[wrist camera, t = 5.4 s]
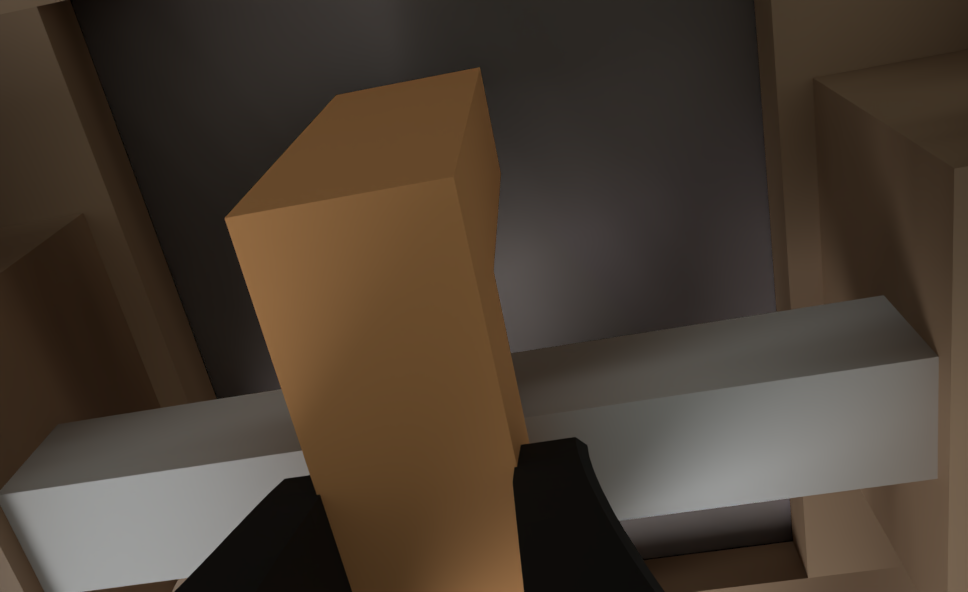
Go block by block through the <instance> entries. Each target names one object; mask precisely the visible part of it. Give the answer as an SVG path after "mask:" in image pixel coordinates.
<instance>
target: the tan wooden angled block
mask: <svg viewBox="0 0 968 592" xmlns="http://www.w3.org/2000/svg"><path fill="white" fill-rule="evenodd" d="M500 180H501V172H500V167H499V161H498V156H497V151H496V146H495V141H494V136H493V131H492V126H491V121H490V116H489V111H488V105H487V100H486V95H485V90H484V85H483V80H482V75H481V70H480V67H478V68H473V69H468V70H462V71H457V72H452V73H447V74H442V75H437V76H432V77H426V78H421V79H416V80H411V81H406V82H401V83H396V84H390V85H385V86H380V87H375V88H370V89H365V90H360V91H354V92H349V93H344V94H339V95H336V96H335V97H334V98H333V99H332V100H331V101H330V102H329V103H328V104H327V106H326V107H325V108H324V109H323V110H322V111H321V112H320V113H319V114H318V115H317V117H316V118H315V119H314V120H313V121H312V122H311V123H310V124H309V125H308V127H307V128H306V129H305V130H304V131H303V132H302V133H301V134H300V135H299V136H298V138H297V139H296V140H295V141H294V142H293V143H292V144H291V145H290V146H289V147H288V149H287V150H286V151H285V152H284V153H283V154H282V155H281V156H280V157H279V158H278V160H277V161H276V162H275V163H274V164H273V165H272V166H271V167H270V168H269V169H268V171H267V172H266V173H265V174H264V175H263V176H262V177H261V178H260V179H259V181H258V182H257V183H256V184H255V185H254V186H253V187H252V188H251V189H250V190H249V192H248V193H247V194H246V195H245V196H244V197H243V198H242V199H241V200H240V201H239V203H238V204H237V205H236V206H235V207H234V208H233V209H232V210H231V211H230V212H229V214H228V215H227V216H226V217H225V221H226V224H227V227H228V230H229V233H230V236H231V239H232V242H233V245H234V248H235V251H236V254H237V257H238V260H239V263H240V266H241V269H242V272H243V275H244V278H245V281H246V284H247V287H248V290H249V293H250V296H251V299H252V302H253V305H254V308H255V311H256V314H257V317H258V320H259V323H260V326H261V329H262V332H263V335H264V338H265V341H266V344H267V347H268V350H269V353H270V356H271V359H272V362H273V365H274V368H275V371H276V374H277V377H278V380H279V383H280V386H281V389H282V392H283V395H284V398H285V401H286V404H287V407H288V410H289V413H290V416H291V419H292V422H293V425H294V428H295V431H296V434H297V437H298V440H299V443H300V446H301V449H302V452H303V455H304V458H305V461H306V464H307V467H308V470H309V473H310V476H311V479H312V482H313V485H314V488H315V491H316V494H317V495H320V496H321V499H322V502H323V505H324V508H325V511H326V514H327V517H328V520H329V523H330V526H331V529H332V532H333V535H334V538H335V541H336V544H337V547H338V550H339V553H340V556H341V559H342V562H343V565H344V568H345V572H346V575H347V578H348V581H349V584H350V587H351V590H352V592H524V587H523V578H522V568H521V559H520V550H519V540H518V531H517V521H516V512H515V502H514V492H513V474H514V467H517V463H518V458H519V452H520V447H521V445H523V444H530V443H529V438H528V433H527V428H526V424H525V419H524V414H523V409H522V405H521V400H520V395H519V390H518V385H517V381H516V376H515V371H514V366H513V362H512V357H511V352H510V347H509V342H508V338H507V333H506V328H505V323H504V319H503V314H502V309H501V304H500V299H499V295H498V290H497V285H496V280H495V276H494V258H495V245H496V232H497V219H498V206H499V193H500Z"/></svg>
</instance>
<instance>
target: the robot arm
mask: <svg viewBox="0 0 968 592" xmlns="http://www.w3.org/2000/svg"><path fill="white" fill-rule="evenodd" d="M513 492H514V502H515V512H516V521H517V531H518V540H519V550H520V559H521V568H522V578H523V587H524V592H665V591H664V590H663V588H662V587H661V586H660V584H659V583H658V581H657V580H656V578H655V577H654V576H653V574H652V573H651V571H650V570H649V568H648V567H647V565H646V564H645V562H644V560H643V559H642V557H641V556H640V554H639V553H638V551H637V549H636V548H635V546H634V545H633V543H632V542H631V540H630V538H629V537H628V535H627V534H626V532H625V531H624V529H623V527H622V525H621V524H620V522H619V520H618V518H617V517H616V515H615V513H614V511H613V510H612V508H611V506H610V504H609V502H608V500H607V498H606V496H605V494H604V492H603V490H602V488H601V486H600V483H599V481H598V479H597V477H596V474H595V472H594V469H593V467H592V463H591V460H590V457H589V451H588V446H587V444H585V443H584V442H582V441H581V440H579V439H578V438H576V437H571V438H564V439H557V440H551V441H544V442H537V443H530V444H523V445H521V447H520V452H519V458H518V463H517V467H514V474H513ZM175 592H352V590H351V587H350V584H349V581H348V578H347V575H346V572H345V568H344V565H343V562H342V559H341V556H340V553H339V550H338V547H337V544H336V541H335V538H334V535H333V532H332V529H331V526H330V523H329V520H328V517H327V514H326V511H325V508H324V505H323V502H322V499H321V496H320V495H317V494H316V491H315V488H314V485H313V482H312V479H311V476H310V475H307V476H300V477H293V478H286V479H284V480H283V481H282V482H280V483H279V484H278V485H277V486H276V487H275V488H274V489H273V490H272V491H271V492H270V493H269V494H268V495H267V496H266V497H265V498H264V499H263V500H262V501H261V502H260V503H259V504H258V505H257V506H256V507H255V508H254V509H253V510H252V511H251V512H250V513H249V514H248V515H247V516H246V517H245V518H244V519H243V520H242V522H241V523H240V524H239V525H238V526H237V527H236V528H235V529H234V530H233V531H232V532H231V533H230V534H229V535H228V536H227V537H226V538H225V539H224V541H223V542H222V543H221V544H220V545H219V546H218V547H217V548H216V549H215V550H214V551H213V552H212V553H211V554H210V555H209V556H208V557H207V558H206V559H205V560H204V562H203V563H202V564H201V565H200V566H199V567H198V568H197V569H196V570H195V571H194V572H193V573H192V574H191V575H190V576H189V577H188V578H187V579H186V580H185V581H184V582H183V583H182V584H181V585H180V586H179V587H178V588H177V589H176V591H175Z"/></svg>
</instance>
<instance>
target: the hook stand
mask: <svg viewBox="0 0 968 592" xmlns="http://www.w3.org/2000/svg"><path fill="white" fill-rule="evenodd" d="M754 3H755V17H756V31H757V45H758V59H759V73H760V87H761V101H762V115H763V129H764V143H765V157H766V171H767V185H768V199H769V213H770V227H771V241H772V255H773V269H774V283H775V297H776V311H777V312H773V313H766V314H760V315H754V316H747V317H741V318H734V319H728V320H722V321H715V322H709V323H702V324H696V325H690V326H683V327H677V328H670V329H664V330H658V331H651V332H645V333H638V334H632V335H625V336H619V337H613V338H606V339H600V340H593V341H587V342H581V343H574V344H568V345H561V346H555V347H549V348H542V349H536V350H529V351H523V352H516V353H511V357H512V362H513V366H514V371H515V376H516V381H517V385H518V390H519V395H520V400H521V405H522V409H523V414H524V419H525V424H526V428H527V433H528V438H529V443H537V442H544V441H551V440H557V439H564V438H571V437H576V438H578V439H579V440H581V441H582V442H584V443H585V444H587V446H588V451H589V457H590V460H591V463H592V467H593V469H594V472H595V474H596V477H597V479H598V481H599V483H600V486H601V488H602V490H603V492H604V494H605V496H606V498H607V500H608V502H609V504H610V506H611V508H612V510H613V511H614V513H615V515H616V517H617V518H618V520H619V521H622V520H629V519H637V518H644V517H652V516H659V515H667V514H674V513H682V512H690V511H697V510H705V509H712V508H720V507H727V506H735V505H743V504H750V503H758V502H765V501H773V500H780V499H788V498H790V507H791V521H792V535H793V541H792V542H784V543H776V544H768V545H760V546H753V547H745V548H737V549H729V550H721V551H713V552H705V553H697V554H689V555H682V556H674V557H666V558H658V559H650V560H644V562H645V564H646V565H647V567H648V568H649V570H650V571H651V573H652V574H653V576H654V577H655V578H656V580H657V581H658V583H659V584H660V586H661V587H662V588H663V590H664V591H665V592H968V0H754ZM307 475H310V473H309V470H308V467H307V464H306V461H305V458H304V455H303V452H302V449H301V446H300V443H299V440H298V437H297V434H296V431H295V428H294V425H293V422H292V419H291V416H290V413H289V410H288V407H287V404H286V401H285V398H284V395H283V392H282V389H279V390H273V391H266V392H260V393H254V394H247V395H241V396H234V397H228V398H222V399H217V398H216V396H215V393H214V390H213V388H212V385H211V382H210V379H209V377H208V374H207V371H206V369H205V366H204V363H203V360H202V358H201V355H200V352H199V350H198V347H197V344H196V341H195V339H194V336H193V333H192V330H191V328H190V325H189V322H188V320H187V317H186V314H185V311H184V309H183V306H182V303H181V301H180V298H179V295H178V292H177V290H176V287H175V284H174V282H173V279H172V276H171V273H170V271H169V268H168V265H167V263H166V260H165V257H164V254H163V252H162V249H161V246H160V243H159V241H158V238H157V235H156V233H155V230H154V227H153V224H152V222H151V219H150V216H149V214H148V211H147V208H146V205H145V203H144V200H143V197H142V195H141V192H140V189H139V186H138V184H137V181H136V178H135V176H134V173H133V170H132V167H131V165H130V162H129V159H128V156H127V154H126V151H125V148H124V146H123V143H122V140H121V137H120V135H119V132H118V129H117V127H116V124H115V121H114V118H113V116H112V113H111V110H110V108H109V105H108V102H107V99H106V97H105V94H104V91H103V89H102V86H101V83H100V80H99V78H98V75H97V72H96V69H95V67H94V64H93V61H92V59H91V56H90V53H89V50H88V48H87V45H86V42H85V40H84V37H83V34H82V31H81V29H80V26H79V23H78V21H77V18H76V15H75V12H74V10H73V7H72V4H71V2H70V0H0V592H175V591H176V589H177V588H178V587H179V586H180V585H181V584H182V583H183V582H184V581H185V580H186V579H187V578H188V577H189V576H190V575H191V574H192V573H193V572H194V571H195V570H196V569H197V568H198V567H199V566H200V565H201V564H202V563H203V562H204V560H205V559H206V558H207V557H208V556H209V555H210V554H211V553H212V552H213V551H214V550H215V549H216V548H217V547H218V546H219V545H220V544H221V543H222V542H223V541H224V539H225V538H226V537H227V536H228V535H229V534H230V533H231V532H232V531H233V530H234V529H235V528H236V527H237V526H238V525H239V524H240V523H241V522H242V520H243V519H244V518H245V517H246V516H247V515H248V514H249V513H250V512H251V511H252V510H253V509H254V508H255V507H256V506H257V505H258V504H259V503H260V502H261V501H262V500H263V499H264V498H265V497H266V496H267V495H268V494H269V493H270V492H271V491H272V490H273V489H274V488H275V487H276V486H277V485H278V484H279V483H280V482H282V481H283V480H284V479H286V478H293V477H300V476H307Z"/></svg>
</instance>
